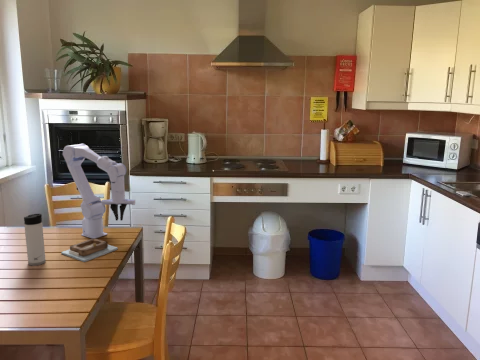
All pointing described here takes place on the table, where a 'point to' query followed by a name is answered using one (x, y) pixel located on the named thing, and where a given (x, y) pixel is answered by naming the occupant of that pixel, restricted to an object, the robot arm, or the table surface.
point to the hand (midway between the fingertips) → (119, 219)
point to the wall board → (90, 256)
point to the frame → (89, 247)
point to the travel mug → (34, 239)
